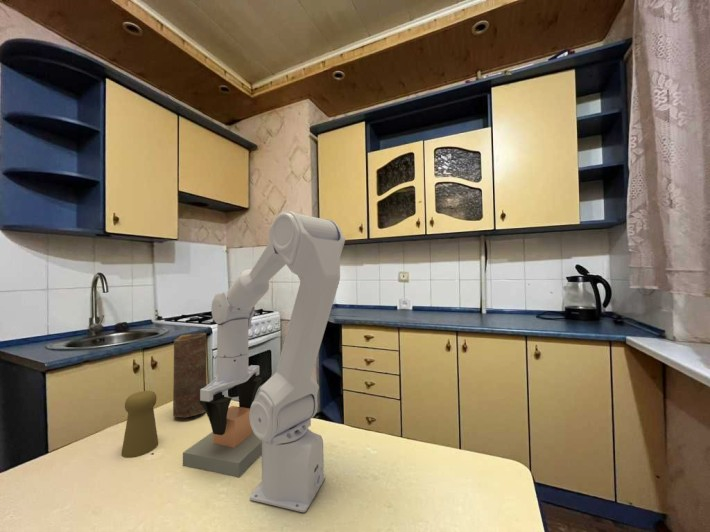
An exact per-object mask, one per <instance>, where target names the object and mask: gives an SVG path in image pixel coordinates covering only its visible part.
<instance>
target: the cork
mask: <svg viewBox="0 0 710 532" xmlns="http://www.w3.org/2000/svg"><path fill="white" fill-rule="evenodd" d="M156 404H157V394H156V393H155V392H154V391H152V390H143V391H138V392H135V393H132V394H130V395H129V396H128V397H127V398H126V400H125V402H124V409H125V412H126V413H127V418H126V425H125V430H124V437H123V442H122V449H121V454H120V456H121V457H123V458H125V459H127V458H129V459H130V458H131V459H132V458H137V457H141V456H143V455H146V454H149V453H151V452H152V451H154V450H155V449H156V448H157V447H158V446H159V439H158V438H159V437H158V431H157V424H156V418H155V410H154V407H155V406H156Z"/></svg>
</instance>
